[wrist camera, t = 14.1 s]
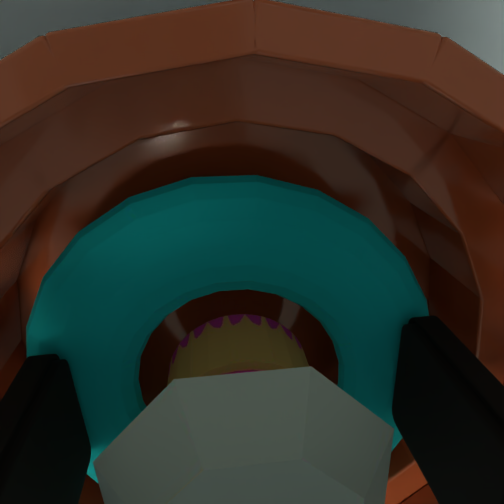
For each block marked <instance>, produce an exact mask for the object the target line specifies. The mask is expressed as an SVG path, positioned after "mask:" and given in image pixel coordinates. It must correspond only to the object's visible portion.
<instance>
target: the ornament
mask: <svg viewBox="0 0 504 504" xmlns="http://www.w3.org/2000/svg"><path fill="white" fill-rule="evenodd" d="M245 289H249V290H255V291H260V292H266V293H271V294H277V295H279V296H281V297H283V298H285V299H287V300H290V301H292V302H294V303H296V304H298V305H300V306H302V307H303V308H304V309H305V310H306V311H308V312H309V313H310V314H311V315H312V316H314V317H315V318H316V319H317V320H318V321H320V323H321V324H322V326H323V327H324V329H325V330H326V332H327V333H328V335H329V336H330V338H331V340H332V341H333V344H334V348H335V351H336V355H337V358H338V362H339V365H338V385H335V384H334V383H333V382H331V381H330V380H329V379H327V378H326V377H325V376H323V375H322V374H321V373H319V372H318V371H317V370H315V369H314V368H313V367H311V366H309V364H308V362H307V359H306V356H305V353H304V351H303V348H302V345H301V344H300V342H299V341H298V339H297V338H296V336H295V335H294V334H293V333H292V332H291V331H290V330H289V329H287V328H286V327H284V326H283V325H282V324H280V323H278V322H276V321H274V320H271V319H269V318H265V317H262V316H258V315H249V314H237V315H228V316H224V317H219V318H216V319H213V320H211V321H208V322H206V323H204V324H202V325H200V326H199V327H197V328H195V329H194V330H193V331H191V332H190V333H189V334H188V335H187V336H186V337H185V338H184V339H183V340H182V341H181V342H180V343H179V345H178V347H177V348H176V350H175V351H174V353H173V356H172V358H171V361H170V366H169V374H168V383H167V387H166V388H165V389H164V390H163V391H162V392H161V393H160V394H159V395H158V396H157V397H156V398H155V399H154V400H153V401H152V402H151V403H150V404H149V405H148V406H146V405H145V403H144V401H143V397H142V393H141V388H140V384H139V379H138V378H139V369H140V360H141V355H142V353H143V350H144V348H145V346H146V344H147V342H148V340H149V337H150V335H151V333H152V332H153V331H154V330H155V329H156V328H157V327H158V326H159V325H160V323H161V322H162V321H163V320H164V319H165V318H166V317H167V316H168V315H169V314H170V313H172V312H173V311H175V310H177V309H178V308H180V307H181V306H183V305H184V304H186V303H188V302H189V301H191V300H193V299H196V298H199V297H202V296H206V295H209V294H212V293H215V292H218V291H229V290H245ZM423 316H429V312H428V305H427V299H426V297H425V295H424V293H423V291H422V289H421V287H420V285H419V283H418V281H417V279H416V277H415V275H414V273H413V271H412V269H411V267H410V265H409V263H408V261H407V259H406V257H405V256H404V255H403V254H402V253H401V252H400V251H399V250H398V249H397V247H396V246H395V245H394V244H393V243H392V242H391V241H390V240H389V239H388V238H387V237H386V236H385V235H384V234H383V233H382V232H381V231H380V230H379V229H378V228H377V227H376V226H375V225H374V223H373V222H372V221H371V220H370V219H369V218H367V217H365V216H363V215H362V214H360V213H358V212H356V211H355V210H353V209H351V208H349V207H348V206H346V205H344V204H342V203H341V202H339V201H337V200H335V199H333V198H332V197H330V196H328V195H326V194H325V193H323V192H321V191H319V190H317V189H313V188H309V187H305V186H301V185H296V184H292V183H288V182H284V181H280V180H276V179H272V178H267V177H263V176H259V175H239V176H210V177H190V178H187V179H184V180H181V181H178V182H174V183H171V184H168V185H165V186H162V187H159V188H156V189H153V190H150V191H146V192H143V193H140V194H137V195H134V196H131V197H128V198H127V199H125V200H124V201H123V202H121V203H120V204H118V205H117V206H115V207H114V208H112V209H111V210H109V211H108V212H106V213H105V214H104V215H102V216H101V217H99V218H98V219H96V220H95V221H93V222H92V223H90V224H89V225H87V226H86V227H85V228H83V229H82V230H80V231H79V232H78V233H77V234H76V235H75V236H74V238H73V239H72V240H71V242H70V243H69V244H68V245H67V247H66V248H65V249H64V251H63V252H62V253H61V255H60V256H59V257H58V258H57V260H56V261H55V262H54V264H53V265H52V266H51V267H50V269H49V270H48V271H47V273H46V274H45V275H44V276H43V278H42V281H41V284H40V287H39V290H38V293H37V296H36V299H35V302H34V305H33V308H32V311H31V314H30V317H29V320H28V323H27V326H26V353H27V357H29V356H36V355H45V354H57V355H58V356H59V358H60V360H61V359H66V360H67V362H68V364H69V368H70V371H71V375H72V379H73V382H74V386H75V390H76V393H77V397H78V401H79V404H80V408H81V412H82V415H83V419H84V423H85V426H86V430H87V434H88V437H89V441H90V445H91V459H90V463H89V467H88V470H87V475H88V476H90V477H91V478H92V479H93V480H95V481H96V482H97V483H98V484H99V487H100V490H101V494H102V497H103V501H104V504H385V497H386V489H387V481H388V473H389V466H390V458H391V452H392V451H393V449H394V448H395V447H396V445H397V444H398V443H399V442H400V440H401V439H402V438H403V437H402V435H401V434H400V432H399V430H398V428H397V426H396V424H395V422H394V419H393V415H392V403H393V395H394V387H395V379H396V371H397V363H398V355H399V347H400V339H401V331H402V327H403V325H405V324H408V322H409V320H410V319H411V318H413V317H423Z"/></svg>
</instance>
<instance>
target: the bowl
mask: <svg viewBox="0 0 504 504" xmlns="http://www.w3.org/2000/svg"><path fill="white" fill-rule="evenodd" d="M239 175H259V176H263V177H267V178H272V179H276V180H280V181H284V182H288V183H292V184H296V185H301V186H305V187H309V188H313V189H317V190H319V191H321V192H323V193H325V194H326V195H328V196H330V197H332V198H333V199H335V200H337V201H339V202H341V203H342V204H344V205H346V206H348V207H349V208H351V209H353V210H355V211H356V212H358V213H360V214H362V215H363V216H365V217H367V218H369V219H370V220H371V221H372V222H373V223H374V225H375V226H376V227H377V228H378V229H379V230H380V231H381V232H382V233H383V234H384V235H385V236H386V237H387V238H388V239H389V240H390V241H391V242H392V243H393V244H394V245H395V246H396V247H397V249H398V250H399V251H400V252H401V253H402V254H403V255H404V256H405V257H406V259H407V261H408V263H409V265H410V267H411V269H412V271H413V273H414V275H415V277H416V279H417V281H418V283H419V285H420V287H421V289H422V291H423V293H424V295H425V297H426V299H427V305H428V312H429V316H433V315H434V316H437V317H438V318H439V319H440V320H441V321H442V322H443V323H444V324H445V325H446V326H447V327H448V328H449V329H450V330H451V331H452V332H453V333H454V334H455V335H456V336H457V337H458V338H459V340H460V341H461V342H462V343H463V344H464V345H465V346H466V347H467V348H468V349H469V350H470V351H471V352H472V353H473V354H474V355H475V356H476V357H477V358H478V359H479V360H480V362H481V363H482V364H483V365H484V366H485V367H486V368H487V369H488V370H489V371H490V372H491V373H492V374H493V375H494V376H495V377H496V378H497V379H498V380H499V381H500V382H501V384H502V385H503V386H504V75H503V74H502V73H500V72H499V71H497V70H496V69H494V68H493V67H492V66H490V65H489V64H487V63H486V62H484V61H483V60H481V59H480V58H478V57H477V56H475V55H474V54H472V53H471V52H469V51H468V50H466V49H465V48H463V47H462V46H460V45H459V44H457V43H456V42H454V41H453V40H451V39H450V38H448V37H445V36H442V37H441V35H440V34H438V33H437V32H432V31H427V30H422V29H417V28H411V27H406V26H401V25H396V24H391V23H386V22H381V21H376V20H371V19H366V18H360V17H355V16H350V15H345V14H340V13H335V12H330V11H325V10H320V9H315V8H310V7H304V6H299V5H294V4H289V3H284V2H279V1H274V0H228V1H223V2H217V3H211V4H205V5H200V6H194V7H188V8H182V9H177V10H171V11H165V12H159V13H154V14H148V15H142V16H137V17H131V18H125V19H119V20H114V21H108V22H102V23H96V24H91V25H85V26H79V27H74V28H68V29H62V30H56V31H51V32H48V33H46V34H45V36H44V35H42V36H38V37H36V38H35V39H33V40H31V41H30V42H28V43H27V44H25V45H23V46H22V47H20V48H18V49H17V50H15V51H13V52H12V53H10V54H8V55H7V56H5V57H4V58H2V59H0V401H1V400H2V398H3V396H4V395H5V393H6V391H7V390H8V388H9V386H10V385H11V383H12V381H13V380H14V378H15V376H16V375H17V373H18V371H19V370H20V368H21V366H22V365H23V363H24V361H25V360H26V359H27V353H26V326H27V323H28V320H29V317H30V314H31V311H32V308H33V305H34V302H35V299H36V296H37V293H38V290H39V287H40V284H41V281H42V278H43V276H44V275H45V274H46V273H47V271H48V270H49V269H50V267H51V266H52V265H53V264H54V262H55V261H56V260H57V258H58V257H59V256H60V255H61V253H62V252H63V251H64V249H65V248H66V247H67V245H68V244H69V243H70V242H71V240H72V239H73V238H74V236H75V235H76V234H77V233H78V232H79V231H80V230H82V229H83V228H85V227H86V226H87V225H89V224H90V223H92V222H93V221H95V220H96V219H98V218H99V217H101V216H102V215H104V214H105V213H106V212H108V211H109V210H111V209H112V208H114V207H115V206H117V205H118V204H120V203H121V202H123V201H124V200H125V199H127V198H128V197H131V196H134V195H137V194H140V193H143V192H146V191H150V190H153V189H156V188H159V187H162V186H165V185H168V184H171V183H174V182H178V181H181V180H184V179H187V178H190V177H210V176H239ZM237 314H249V315H258V316H262V317H265V318H269V319H271V320H274V321H276V322H278V323H280V324H282V325H283V326H284V327H286V328H287V329H289V330H290V331H291V332H292V333H293V334H294V335H295V336H296V338H297V339H298V341H299V342H300V344H301V345H302V348H303V351H304V353H305V356H306V359H307V362H308V364H309V366H311V367H313V368H314V369H315V370H317V371H318V372H319V373H321V374H322V375H323V376H325V377H326V378H327V379H329V380H330V381H331V382H333V383H334V384H335V385H338V365H339V362H338V358H337V355H336V351H335V348H334V344H333V341H332V340H331V338H330V336H329V335H328V333H327V332H326V330H325V329H324V327H323V326H322V324H321V323H320V321H318V320H317V319H316V318H315V317H314V316H312V315H311V314H310V313H309V312H308V311H306V310H305V309H304V308H303V307H302V306H300V305H298V304H296V303H294V302H292V301H290V300H287V299H285V298H283V297H281V296H279V295H277V294H271V293H266V292H260V291H255V290H249V289H245V290H229V291H218V292H215V293H212V294H209V295H206V296H202V297H199V298H196V299H193V300H191V301H189V302H188V303H186V304H184V305H183V306H181V307H180V308H178V309H177V310H175V311H173V312H172V313H170V314H169V315H168V316H167V317H166V318H165V319H164V320H163V321H162V322H161V323H160V325H159V326H158V327H157V328H156V329H155V330H154V331H153V332H152V333H151V335H150V337H149V340H148V342H147V344H146V346H145V348H144V350H143V353H142V355H141V360H140V369H139V378H138V379H139V384H140V388H141V393H142V397H143V401H144V403H145V405H146V406H148V405H149V404H150V403H151V402H152V401H153V400H154V399H155V398H156V397H157V396H158V395H159V394H160V393H161V392H162V391H163V390H164V389H165V388H166V387H167V383H168V374H169V366H170V361H171V358H172V356H173V353H174V351H175V350H176V348H177V347H178V345H179V343H180V342H181V341H182V340H183V339H184V338H185V337H186V336H187V335H188V334H189V333H190V332H191V331H193V330H194V329H195V328H197V327H199V326H200V325H202V324H204V323H206V322H208V321H211V320H213V319H216V318H219V317H224V316H228V315H237ZM78 504H104V501H103V497H102V494H101V490H100V487H99V484H98V483H97V482H96V481H95V480H93V479H92V478H91V477H90V476H88V475H87V474H86V478H85V481H84V485H83V488H82V492H81V495H80V499H79V503H78ZM385 504H439V503H438V501H437V499H436V497H435V496H434V494H433V492H432V490H431V488H430V487H429V485H428V483H427V481H426V479H425V477H424V476H423V474H422V472H421V470H420V468H419V466H418V465H417V463H416V461H415V459H414V457H413V456H412V454H411V452H410V450H409V448H408V446H407V445H406V443H405V441H404V439H403V438H402V439H401V440H400V442H399V443H398V444H397V445H396V447H395V448H394V449H393V451H392V452H391V458H390V466H389V473H388V481H387V489H386V497H385Z"/></svg>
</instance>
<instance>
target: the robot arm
mask: <svg viewBox="0 0 504 504" xmlns="http://www.w3.org/2000/svg"><path fill="white" fill-rule="evenodd" d="M392 415H393V419H394V422H395V424H396V426H397V428H398V430H399V432H400V434H401V435H402V437H403V439H404V441H405V443H406V445H407V446H408V448H409V450H410V452H411V454H412V456H413V457H414V459H415V461H416V463H417V465H418V466H419V468H420V470H421V472H422V474H423V476H424V477H425V479H426V481H427V483H428V485H429V487H430V488H431V490H432V492H433V494H434V496H435V497H436V499H437V501H438V503H439V504H504V386H503V385H502V384H501V382H500V381H499V380H498V379H497V378H496V377H495V376H494V375H493V374H492V373H491V372H490V371H489V370H488V369H487V368H486V367H485V366H484V365H483V364H482V363H481V362H480V360H479V359H478V358H477V357H476V356H475V355H474V354H473V353H472V352H471V351H470V350H469V349H468V348H467V347H466V346H465V345H464V344H463V343H462V342H461V341H460V340H459V338H458V337H457V336H456V335H455V334H454V333H453V332H452V331H451V330H450V329H449V328H448V327H447V326H446V325H445V324H444V323H443V322H442V321H441V320H440V319H439V318H438V317H437V316H434V315H433V316H423V317H413V318H411V319H410V320H409V322H408V324H405V325H403V327H402V331H401V339H400V347H399V355H398V363H397V371H396V379H395V387H394V395H393V403H392ZM90 459H91V445H90V441H89V437H88V434H87V430H86V426H85V423H84V419H83V415H82V412H81V408H80V404H79V401H78V397H77V393H76V390H75V386H74V382H73V379H72V375H71V371H70V368H69V364H68V362H67V360H66V359H61V360H60V358H59V356H58V355H57V354H45V355H36V356H29V357H27V359H26V360H25V361H24V363H23V365H22V366H21V368H20V370H19V371H18V373H17V375H16V376H15V378H14V380H13V381H12V383H11V385H10V386H9V388H8V390H7V391H6V393H5V395H4V396H3V398H2V400H1V401H0V504H78V503H79V499H80V495H81V492H82V488H83V485H84V481H85V478H86V474H87V470H88V467H89V463H90Z"/></svg>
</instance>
